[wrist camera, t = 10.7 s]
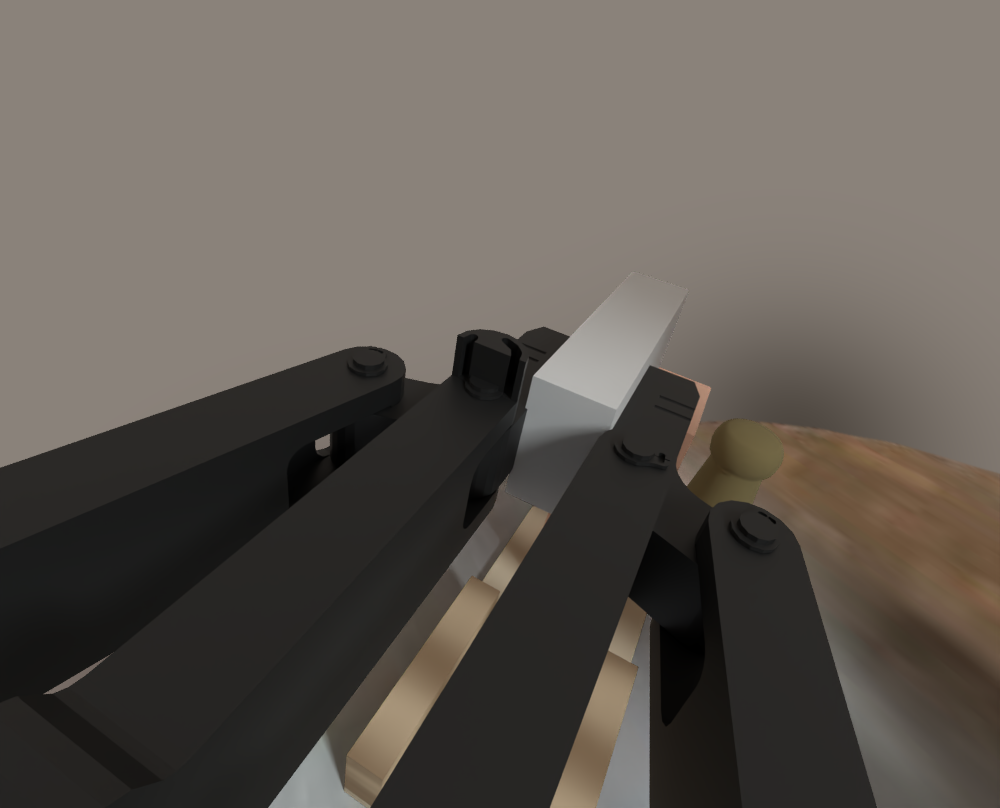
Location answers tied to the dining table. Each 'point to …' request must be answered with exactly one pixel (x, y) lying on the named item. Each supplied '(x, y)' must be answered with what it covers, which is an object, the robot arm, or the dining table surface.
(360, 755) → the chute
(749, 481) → the olive green pawn
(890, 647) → the dining table surface
